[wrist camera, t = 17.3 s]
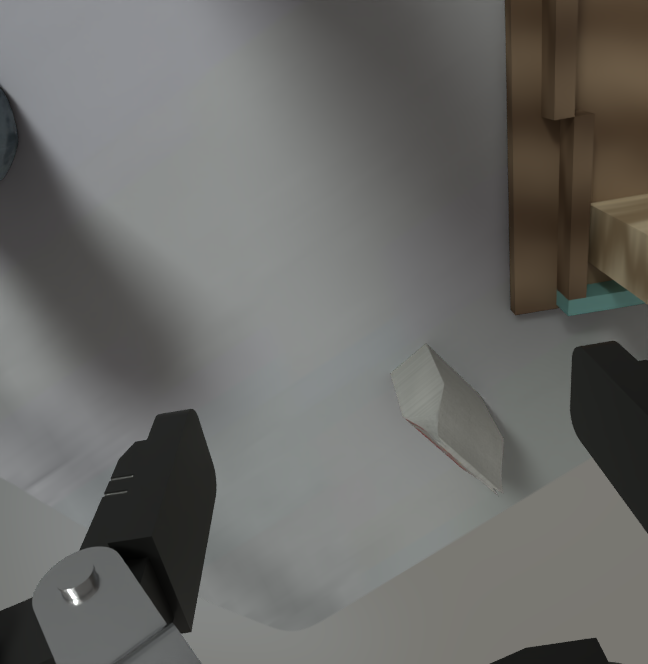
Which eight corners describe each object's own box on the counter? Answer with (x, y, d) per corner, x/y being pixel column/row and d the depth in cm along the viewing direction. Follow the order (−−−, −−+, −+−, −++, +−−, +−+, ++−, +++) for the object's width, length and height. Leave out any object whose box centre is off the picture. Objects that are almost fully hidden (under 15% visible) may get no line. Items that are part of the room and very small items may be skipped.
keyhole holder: (503, -99, 31) (522, -113, 29) (759, -147, 31) (804, -166, 28) (510, 309, 42) (525, 327, 40) (699, 278, 42) (727, 293, 39)
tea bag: (426, 343, 43) (459, 419, 34) (479, 394, 46) (524, 478, 37) (390, 373, 44) (414, 454, 36) (444, 422, 47) (479, 510, 38)
